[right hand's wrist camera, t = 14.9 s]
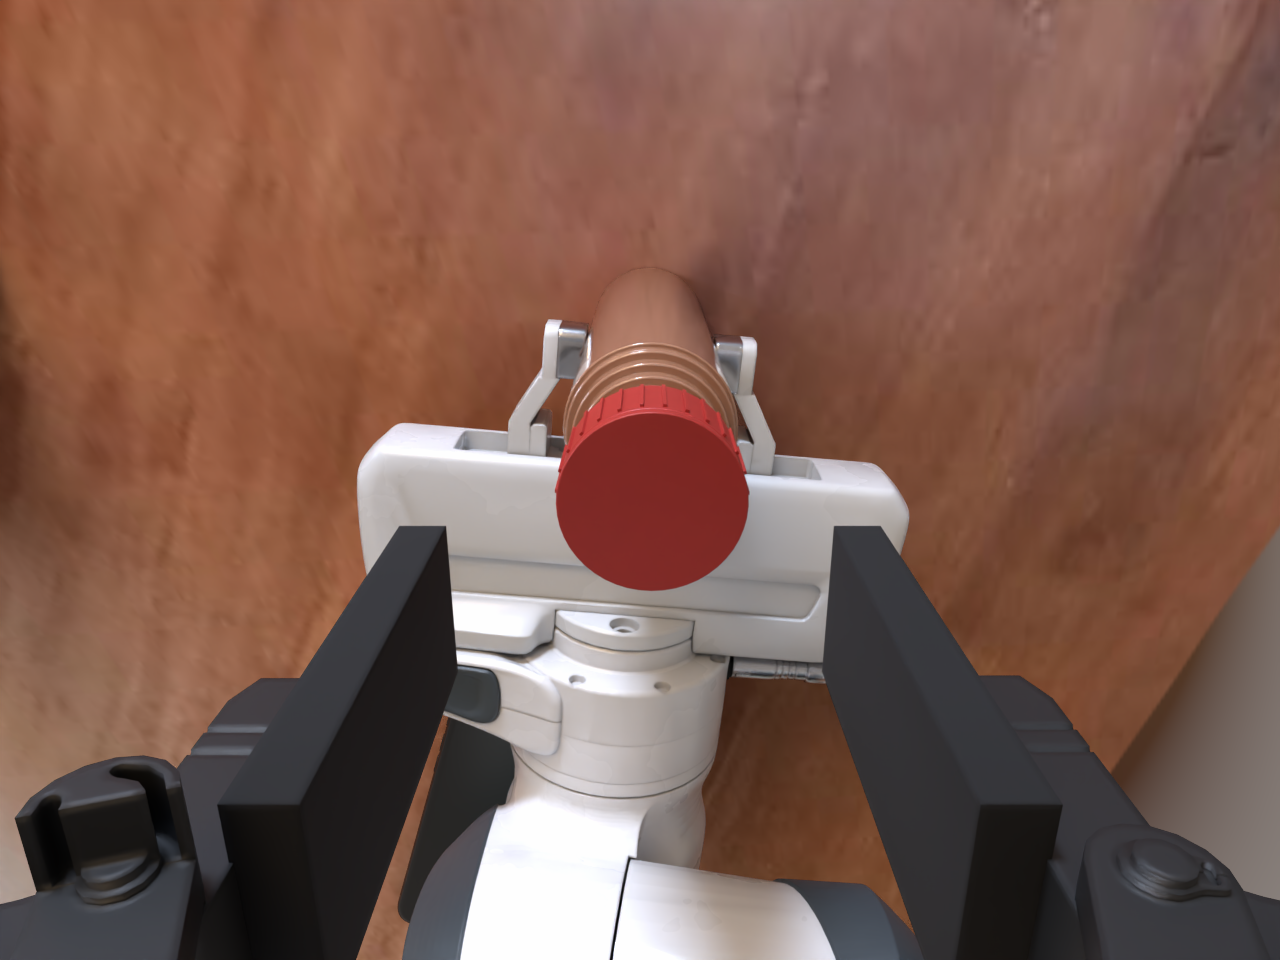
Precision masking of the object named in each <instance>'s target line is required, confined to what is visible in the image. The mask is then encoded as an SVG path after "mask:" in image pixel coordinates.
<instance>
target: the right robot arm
mask: <svg viewBox="0 0 1280 960" xmlns="http://www.w3.org/2000/svg"><path fill="white" fill-rule="evenodd" d="M457 673H458V665H457V653H456V641H455V628H454V616H453V604H452V592H451V579H450V567H449V555H448V543H447V530H446V526H399V527H398V529H397V530H396V532H395V533H394V535H393V536H392V538H391V539H390V541H389V542H388V544H387V545H386V547H385V549H384V550H383V552H382V553H381V555H380V556H379V558H378V559H377V561H376V562H375V564H374V565H373V567H372V568H371V570H370V571H369V573H368V575H367V576H366V578H365V579H364V581H363V582H362V584H361V585H360V587H359V588H358V590H357V591H356V593H355V594H354V596H353V597H352V599H351V601H350V602H349V604H348V605H347V607H346V608H345V610H344V611H343V613H342V614H341V616H340V617H339V619H338V620H337V622H336V623H335V625H334V626H333V628H332V630H331V631H330V633H329V634H328V636H327V637H326V639H325V640H324V642H323V643H322V645H321V646H320V648H319V649H318V651H317V652H316V654H315V656H314V657H313V659H312V660H311V662H310V663H309V665H308V666H307V668H306V669H305V671H304V672H303V674H302V675H301V677H300V678H261V679H259V680H258V681H256V682H255V683H253V684H252V685H251V686H249V687H248V688H246V689H245V690H243V691H242V692H240V693H239V694H238V695H236V696H235V697H233V698H232V699H230V700H229V701H228V702H227V703H226V704H225V706H224V707H223V708H222V710H221V711H220V712H219V714H218V715H217V716H216V718H215V719H214V720H213V721H212V723H211V724H210V725H209V727H208V732H207V733H203V735H202V736H201V737H200V739H199V740H198V741H197V743H196V744H195V745H194V747H193V748H192V749H191V755H187V756H186V757H185V758H184V760H183V761H182V762H181V764H180V765H179V766H178V768H177V769H176V768H175V767H174V766H172V765H171V764H170V763H169V762H168V761H166V760H163V759H158V758H153V757H149V756H131V757H117V758H112V759H109V760H105V761H101V762H98V763H94V764H90V765H87V766H84V767H82V768H80V769H77V770H75V771H73V772H71V773H69V774H67V775H65V776H63V777H60V778H58V779H56V780H54V781H53V782H52V783H50V784H49V785H48V786H46V787H45V788H43V789H42V790H41V791H39V792H38V793H37V794H35V795H34V796H33V797H31V798H30V799H29V800H28V802H27V803H26V804H25V806H24V807H23V808H22V809H21V811H20V812H19V813H18V815H17V816H16V817H15V821H16V824H17V827H18V831H19V834H20V837H21V841H22V844H23V847H24V851H25V854H26V857H27V861H28V864H29V867H30V871H31V874H32V877H33V881H34V884H35V887H36V891H37V892H36V895H33V896H30V897H27V898H23V899H20V900H17V901H12V902H8V903H4V904H0V960H356V958H357V955H358V952H359V950H360V947H361V944H362V941H363V938H364V936H365V933H366V930H367V927H368V924H369V921H370V919H371V916H372V913H373V910H374V907H375V904H376V902H377V899H378V896H379V893H380V890H381V888H382V885H383V882H384V879H385V876H386V873H387V871H388V868H389V865H390V862H391V859H392V857H393V854H394V851H395V848H396V845H397V842H398V840H399V837H400V834H401V831H402V828H403V825H404V823H405V820H406V817H407V814H408V811H409V809H410V806H411V803H412V800H413V797H414V794H415V792H416V789H417V786H418V783H419V780H420V777H421V775H422V772H423V769H424V766H425V763H426V761H427V758H428V755H429V752H430V749H431V746H432V744H433V741H434V738H435V735H436V732H437V730H438V727H439V724H440V721H441V718H442V715H443V713H444V710H445V707H446V704H447V701H448V698H449V696H450V693H451V690H452V687H453V684H454V682H455V679H456V676H457ZM822 673H823V676H824V679H825V682H826V684H827V687H828V690H829V693H830V696H831V698H832V701H833V704H834V707H835V710H836V713H837V715H838V718H839V721H840V724H841V727H842V730H843V732H844V735H845V738H846V741H847V744H848V746H849V749H850V752H851V755H852V758H853V761H854V763H855V766H856V769H857V772H858V775H859V777H860V780H861V783H862V786H863V789H864V792H865V794H866V797H867V800H868V803H869V806H870V809H871V811H872V814H873V817H874V820H875V823H876V825H877V828H878V831H879V834H880V837H881V840H882V842H883V845H884V848H885V851H886V854H887V857H888V859H889V862H890V865H891V868H892V871H893V873H894V876H895V879H896V882H897V885H898V888H899V890H900V893H901V896H902V899H903V902H904V904H905V907H906V910H907V913H908V916H909V919H910V921H911V924H912V927H913V930H914V933H915V936H916V938H917V941H918V944H919V947H920V950H921V952H922V955H923V958H924V960H1280V900H1275V899H1271V898H1267V897H1263V896H1259V895H1256V894H1253V893H1249V892H1246V891H1243V889H1242V888H1241V886H1240V885H1239V883H1238V882H1237V880H1236V879H1235V877H1234V876H1233V874H1232V873H1231V871H1230V870H1229V869H1228V868H1227V867H1226V866H1225V865H1224V864H1222V863H1221V862H1220V861H1219V860H1218V859H1216V858H1215V857H1214V856H1213V855H1212V854H1210V853H1209V852H1208V851H1207V850H1205V849H1203V848H1202V847H1200V846H1198V845H1196V844H1194V843H1192V842H1190V841H1188V840H1187V839H1185V838H1183V837H1181V836H1179V835H1177V834H1174V833H1170V832H1167V831H1164V830H1161V829H1157V828H1154V827H1151V826H1150V825H1149V824H1148V823H1147V821H1146V820H1145V819H1144V817H1143V816H1142V815H1141V813H1140V812H1139V811H1138V810H1137V808H1136V807H1135V806H1134V804H1133V803H1132V802H1131V800H1130V799H1129V798H1128V796H1127V795H1126V794H1125V793H1124V791H1123V790H1122V789H1121V787H1120V786H1119V785H1118V783H1117V782H1116V781H1115V779H1114V778H1113V777H1112V775H1111V774H1110V773H1109V772H1108V770H1107V769H1106V768H1105V766H1104V765H1103V764H1102V762H1101V761H1100V760H1099V758H1098V757H1097V756H1096V755H1095V753H1094V752H1090V750H1089V745H1088V744H1087V743H1086V741H1085V740H1084V739H1083V737H1082V736H1081V735H1080V734H1079V732H1078V731H1077V730H1073V724H1072V723H1071V722H1070V720H1069V719H1068V718H1067V717H1066V715H1065V714H1064V713H1063V711H1062V710H1061V709H1060V707H1059V706H1058V705H1057V703H1056V702H1055V701H1054V700H1053V698H1051V697H1050V696H1049V695H1047V694H1046V693H1044V692H1043V691H1041V690H1040V689H1038V688H1037V687H1035V686H1034V685H1032V684H1031V683H1030V682H1028V681H1027V680H1025V679H1024V678H1022V677H1021V676H979V675H978V674H977V672H976V671H975V669H974V668H973V666H972V665H971V663H970V662H969V660H968V659H967V657H966V656H965V654H964V652H963V651H962V649H961V648H960V646H959V645H958V643H957V642H956V640H955V639H954V637H953V636H952V634H951V633H950V631H949V630H948V628H947V626H946V625H945V623H944V622H943V620H942V619H941V617H940V616H939V614H938V613H937V611H936V610H935V608H934V607H933V605H932V604H931V602H930V601H929V599H928V597H927V596H926V594H925V593H924V591H923V590H922V588H921V587H920V585H919V584H918V582H917V581H916V579H915V578H914V576H913V575H912V573H911V571H910V570H909V568H908V567H907V565H906V564H905V562H904V561H903V559H902V558H901V556H900V555H899V553H898V552H897V550H896V549H895V547H894V545H893V544H892V542H891V541H890V539H889V538H888V536H887V535H886V533H885V532H884V530H883V529H882V527H881V526H834V530H833V542H832V555H831V567H830V579H829V592H828V604H827V616H826V628H825V641H824V653H823V665H822Z"/></svg>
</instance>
